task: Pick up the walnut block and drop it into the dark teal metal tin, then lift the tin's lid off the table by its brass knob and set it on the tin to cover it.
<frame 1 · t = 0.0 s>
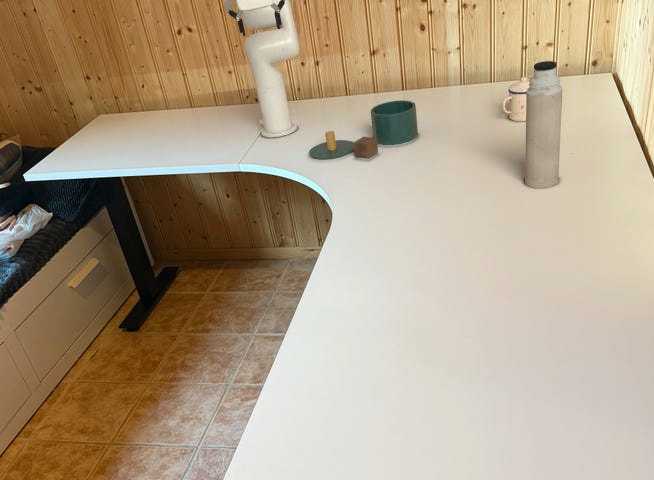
hand: (261, 31, 183), 37 cm above the table, tool pointing down, fingers open, 9 cm apart
thermos bottle: (541, 182, 167), on the table
teacup with lid: (519, 118, 205), on the table
tin: (396, 138, 207), on the table
lid: (332, 150, 206), point 1 cm above the table
block: (366, 156, 199), on the table
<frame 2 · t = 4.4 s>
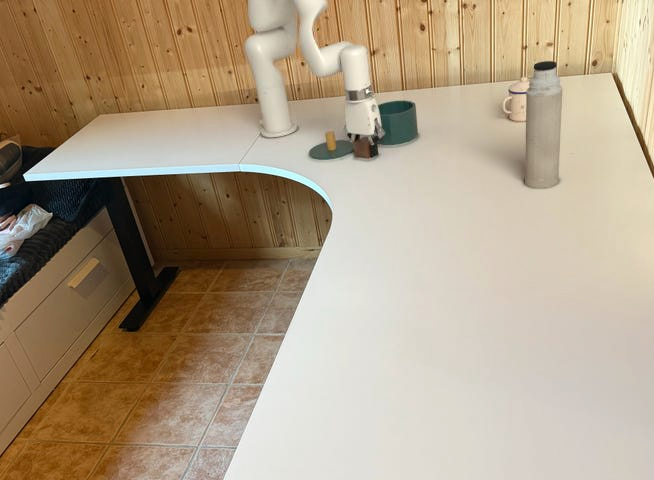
hand: (366, 155, 199), 0 cm above the table, tool pointing down, fingers closed on block, 5 cm apart
block: (366, 156, 199), on the table, touching gripper
everything else where it was.
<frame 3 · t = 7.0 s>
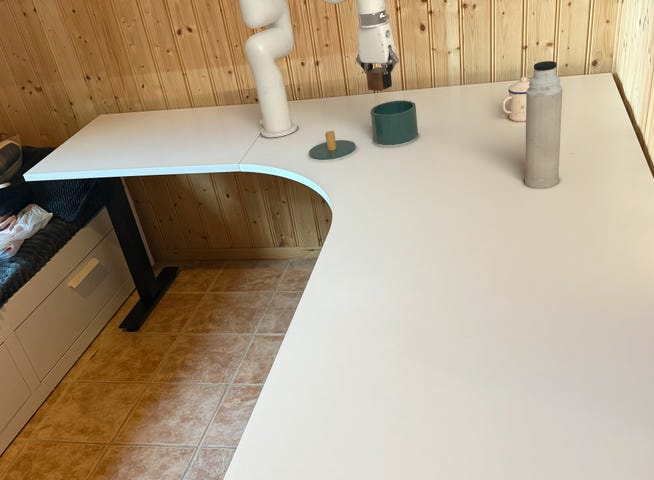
hand: (379, 86, 194), 17 cm above the table, tool pointing down, fingers closed on block, 5 cm apart
block: (380, 87, 194), point 17 cm above the table, touching gripper
everything else where it was.
when the fingers open (8 cm above the table, at t = 10.0 s): block drops 7 cm, resting on tin.
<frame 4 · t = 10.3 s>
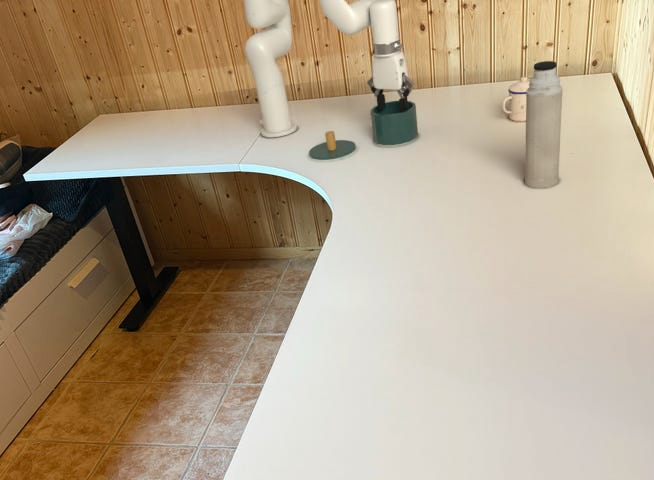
hand: (392, 109, 202), 9 cm above the table, tool pointing down, fingers open, 7 cm apart
block: (395, 137, 207), point 1 cm above the table, touching tin
everything else where it was.
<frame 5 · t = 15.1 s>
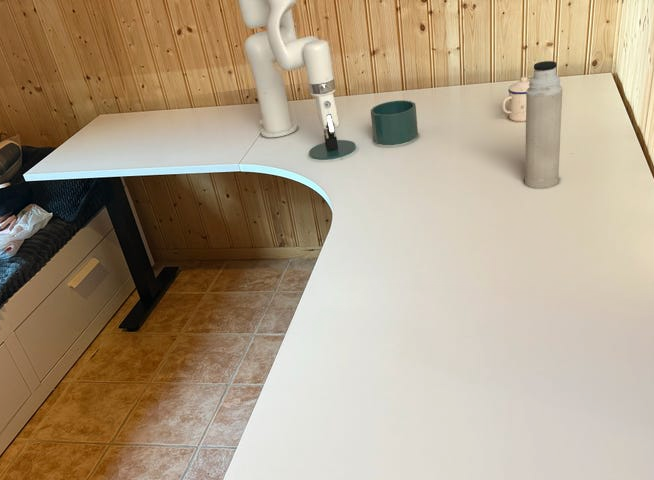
hand: (332, 148, 205), 1 cm above the table, tool pointing down, fingers closed on lid, 2 cm apart
lid: (332, 150, 206), point 1 cm above the table, touching gripper
everything else where it was.
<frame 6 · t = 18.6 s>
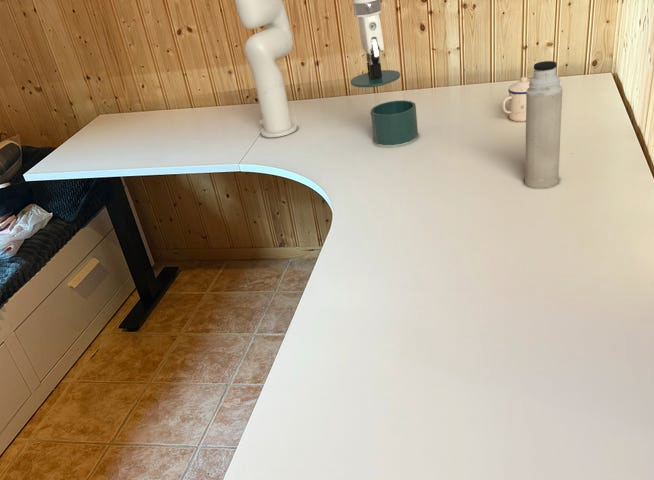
hand: (375, 76, 195), 19 cm above the table, tool pointing down, fingers closed on lid, 2 cm apart
lid: (375, 79, 196), point 19 cm above the table, touching gripper
everything else where it was.
when the fingers open (10 cm above the table, at t = 21.9 s): lid stays where it is, resting on tin.
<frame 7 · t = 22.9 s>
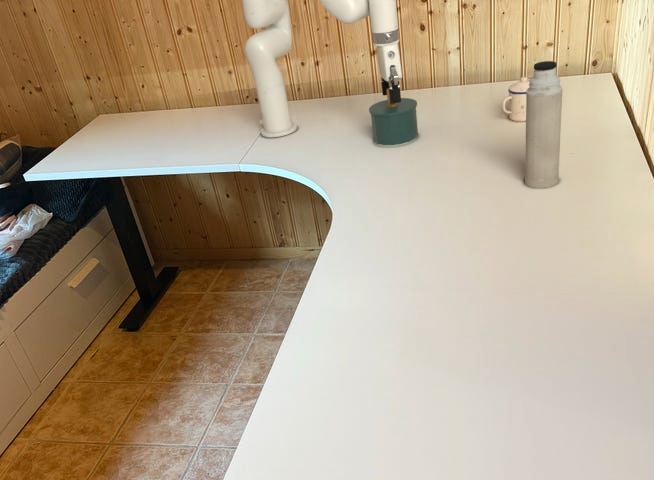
hand: (391, 98, 200), 12 cm above the table, tool pointing down, fingers open, 9 cm apart
lid: (393, 107, 202), point 9 cm above the table, touching tin
everything else where it was.
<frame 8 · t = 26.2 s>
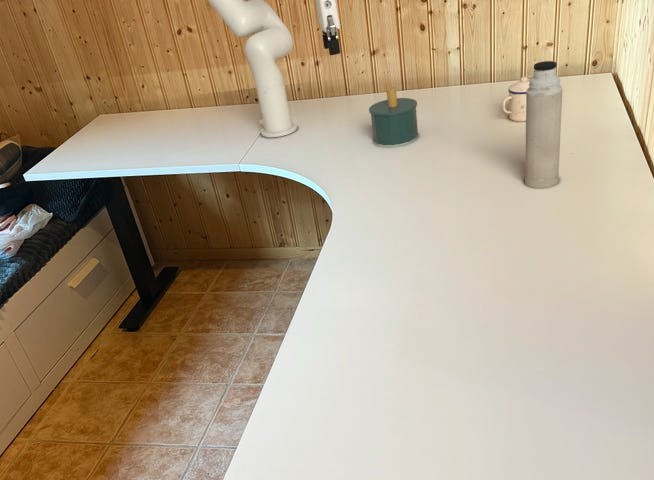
hand: (332, 51, 200), 26 cm above the table, tool pointing down, fingers open, 9 cm apart
nothing on the table moved.
at the end: block inside the target area in the tin (0.1 cm from its centre), point 0.5 cm above the tin's base; lid 0.0 cm off-centre on the tin, point 9.5 cm above the tin's base; lid tilted 0° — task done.
